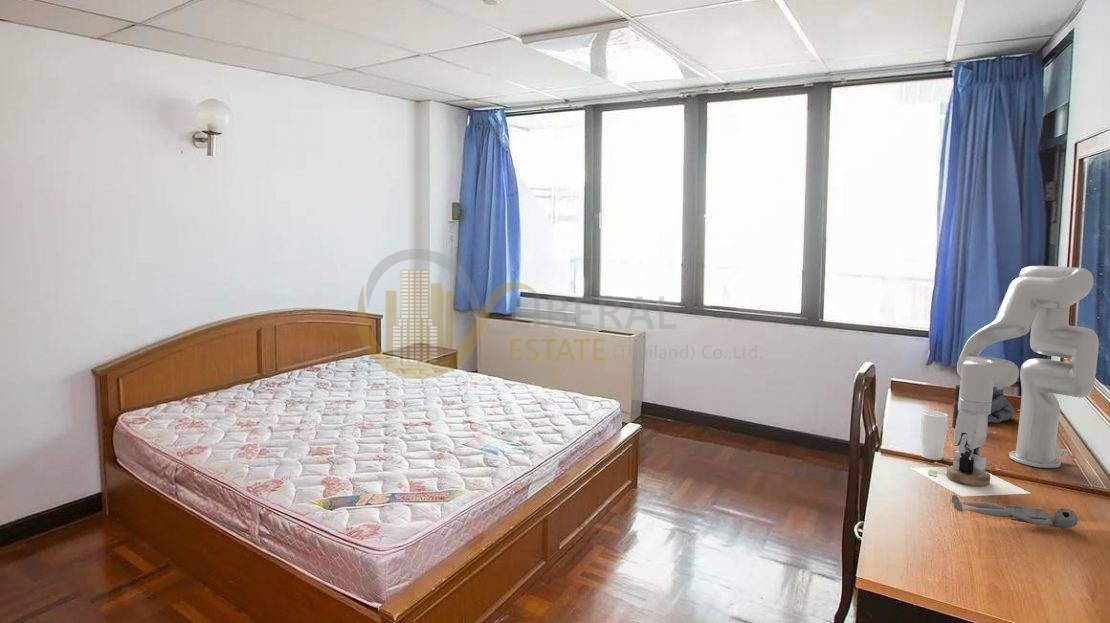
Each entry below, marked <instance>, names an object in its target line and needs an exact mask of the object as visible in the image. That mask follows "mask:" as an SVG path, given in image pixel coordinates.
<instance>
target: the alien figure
mask: <svg viewBox="0 0 1110 623" xmlns="http://www.w3.org/2000/svg"><path fill="white" fill-rule="evenodd" d="M951 502H952V503H953V508H954V509H955V510H958V511H959V510H960V511H962V510H965V511H969V512H972V513H978V514H983V515H991V516H998V517H999V516H1000V517H1012V518H1011V520H1012V521H1014V522H1015V521H1016V522H1020V523H1025V524H1026V523H1027V524H1034V525H1037V526H1044V527H1048V526H1050V525H1051V527H1053V528H1058V529H1068V528H1069V529H1070V528H1072V527H1076V525H1077V524H1078V521H1079V520H1078V519H1079V518H1078V515H1077V514H1076V513H1075V511H1073V510H1072V509H1070V508H1065V509H1064V508H1060V509H1057V510H1056V511H1054V514H1053V516H1051V515H1050V514H1049V512H1047V511H1046V510H1044V509H1041V508H1032V507H1024V506H1021V505H1017V504H1011V505H1006V506H1003V505H1000V504H996V503H992V502H988V501H987V502H984V501H964V502H960V498H959V497H958V496H957V494H953V495H951ZM963 505H966V506H970V507H967V508H963Z"/></svg>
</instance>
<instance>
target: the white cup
mask: <svg viewBox="0 0 1110 623" xmlns="http://www.w3.org/2000/svg"><path fill="white" fill-rule="evenodd" d="M948 423H949V415H948V414H947V413H945V412H941V411H936V410H924V411H923V412H922V415H921V424H920V425H921V426H920V427H921V434H920V436H921V454H920V455H921V457H922V458H924V459H927V460H932V461H940V460H942V459H943V453H944V447H945V442H946V438H947V437H946V436H947V432H948V425H949V424H948Z"/></svg>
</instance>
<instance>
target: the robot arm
mask: <svg viewBox="0 0 1110 623" xmlns="http://www.w3.org/2000/svg"><path fill="white" fill-rule="evenodd" d="M1093 276H1094V275H1093V274H1092V272H1091V271H1090V270H1088V269H1086V268H1083V267H1077V266H1076V267H1072V266H1055V265H1054V266H1053V265H1029V266H1026V267H1023V268H1021V270H1020V271H1019V274H1018V277H1017V278H1015V279H1013V280H1012V281H1011V282H1010V284H1009V285H1008V288H1007V291H1006V292H1005V294H1004V298H1003V299H1002V302H1001V304H1000V307H999V309H998V311H997V313H996V316H995V319H994V320H993V321H992V322H991V323H989V324H987V325H985V326H983V327H981V328H979V329H978V330H977V331H976V332H975V333H973V334H972V335H971V336H970V337H969V338H968V339H967V341H965V344H964V345H963V348H962V351H961V353H960V354H959V358H958V360H957V363H956V372H957V374H958V376H959V377H960V379H959V380H960V382H959V383H960V384H959V385H960V391H959V401H958V410H959V413H958V417H957V421H956V427H955V428H954V432H953V434H954V435H953V439H952V440H953V442H952V444H953V446H954V447H958V452H959V453H960V463H959V471H961V472H964V473H968V474H972V473H973V464H974V460H972V459H973V454H975V455H979V456H981V447H982V446H983V445H985V444H986V443H987V438H988V437H987V436H988V425H989V424H988V423H989V422H988V415H989V414H991V405H992V395H993V387H1005V388H1007V387H1010V386H1013V385H1014V384H1016V382H1017V381H1018V379H1019V378H1020V387H1021V394H1020V396H1021V399H1020V410H1019V417H1018V428H1017V438H1016V448H1015V450H1012V451H1010V452H1009V453H1008V455H1009V457H1008V458H1010V459H1011V460H1012V461H1014V462H1016V463H1019V464H1022V465H1026V466H1029V467H1035V468H1042V469H1057V468H1059V467H1061V462H1062V461H1060V460H1059V457H1067V456H1069V455H1070V453H1069V450H1068V449H1066V448H1065V449H1064V448H1063V449H1059V448H1057V439H1058V430H1059V421H1060V415H1061V414H1060V413H1061V406H1060V402H1059V400H1058V399H1057V398H1056V396H1055V394H1057V395H1061V396H1062V395H1063V396H1068V397H1072V398H1079V399H1080V398H1086V397H1088V396H1089V395H1091V393H1092V392H1093V390H1094V385H1095V382H1096V373H1097V366H1098V365H1097V364H1098V358H1099V357H1098V356H1099V348H1100V341H1099V337H1098V335H1097V333H1096V332H1095V330H1093V329H1092V328H1088V327H1084V326H1079V325H1078V326H1076V325H1070V323H1069V317H1070V307H1071V306H1073V305H1074V304H1075V303H1077V302H1079V301H1081V300H1082V299H1084V298H1086V297H1087V296H1088V295H1089V293H1090V292H1091V290H1092V289H1093V287H1094V286H1093V285H1094V277H1093ZM1029 332H1030V336H1029V337H1030V339H1029V345H1030V349H1031V350H1032V351H1033V352H1034V353H1037V354H1041V355H1044V356H1045V355H1046V356H1051V357H1057V358H1063V359H1070V360H1071V362H1072V363H1071V362H1065V361H1061V360H1053V359H1048V358H1047V359H1046V358H1030V359H1027V360H1025V361H1024V362H1023V363H1022V364H1021V366H1020V369H1019V367H1018V365H1017V364H1015V362H1013V361H1011V360H1008V359H1004V358H997V357H992V356H987V355H986V356H985V355H981V353H982V351H984V349H985V348H987V347H988V346H992V345H993V344H995V343H998V342H1001V341H1002V342H1003V341H1006V340H1011V339H1015V338H1021V337H1023V336H1025V335H1027V334H1028V333H1029Z"/></svg>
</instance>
